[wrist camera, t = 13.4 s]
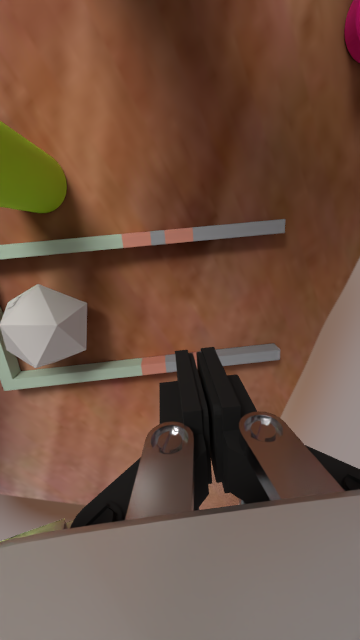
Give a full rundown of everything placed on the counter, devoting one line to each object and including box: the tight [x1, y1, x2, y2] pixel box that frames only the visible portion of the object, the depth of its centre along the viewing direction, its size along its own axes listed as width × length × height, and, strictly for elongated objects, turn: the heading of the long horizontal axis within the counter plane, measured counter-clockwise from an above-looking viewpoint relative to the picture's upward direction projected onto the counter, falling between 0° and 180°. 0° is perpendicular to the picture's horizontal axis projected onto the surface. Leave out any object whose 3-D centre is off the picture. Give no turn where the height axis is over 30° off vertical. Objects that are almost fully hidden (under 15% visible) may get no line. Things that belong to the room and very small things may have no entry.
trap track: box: [0, 219, 285, 391], centre depth 31 cm, size 17×34×2 cm, turn 95°
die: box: [0, 284, 87, 368], centre depth 28 cm, size 8×9×10 cm
